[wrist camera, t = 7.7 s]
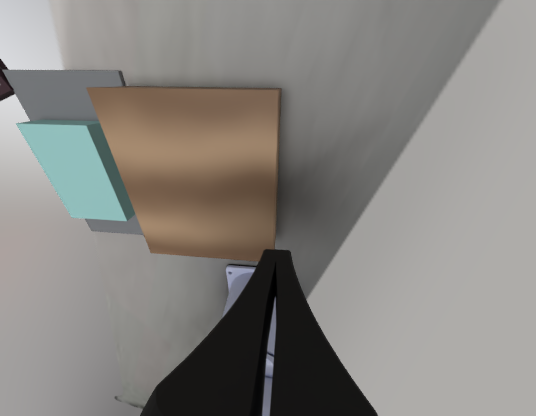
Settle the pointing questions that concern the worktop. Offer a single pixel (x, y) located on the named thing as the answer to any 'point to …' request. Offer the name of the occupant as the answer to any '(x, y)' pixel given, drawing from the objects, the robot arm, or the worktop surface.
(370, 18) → the worktop surface
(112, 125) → the brown flat block
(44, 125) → the teal rectangular block
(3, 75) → the chocolate bar
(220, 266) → the worktop surface
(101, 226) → the mat
